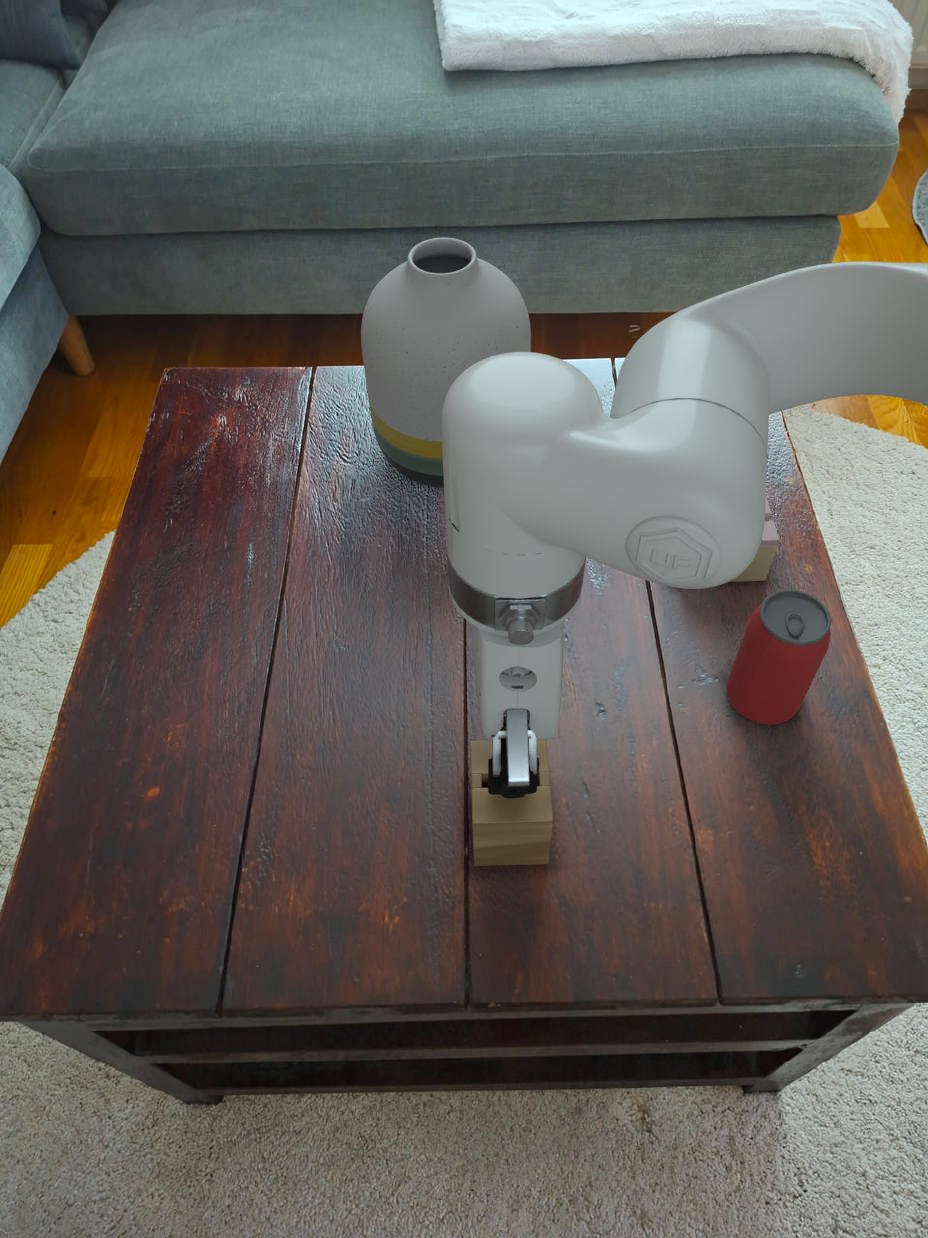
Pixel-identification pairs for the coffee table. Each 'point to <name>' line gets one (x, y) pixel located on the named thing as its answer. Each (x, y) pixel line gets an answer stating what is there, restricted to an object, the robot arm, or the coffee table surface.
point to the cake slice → (762, 556)
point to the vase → (432, 345)
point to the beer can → (779, 656)
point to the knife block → (510, 815)
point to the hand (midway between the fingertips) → (508, 727)
